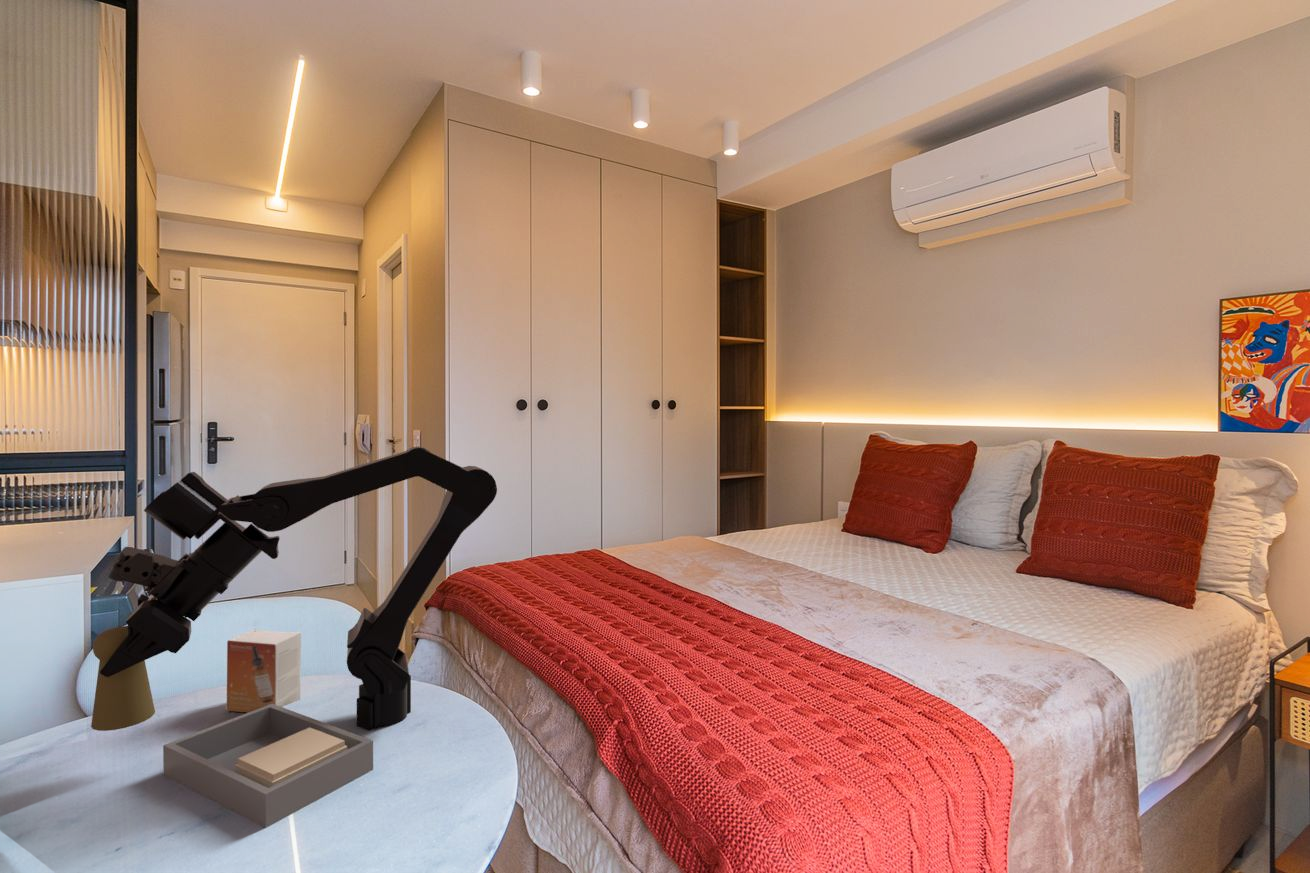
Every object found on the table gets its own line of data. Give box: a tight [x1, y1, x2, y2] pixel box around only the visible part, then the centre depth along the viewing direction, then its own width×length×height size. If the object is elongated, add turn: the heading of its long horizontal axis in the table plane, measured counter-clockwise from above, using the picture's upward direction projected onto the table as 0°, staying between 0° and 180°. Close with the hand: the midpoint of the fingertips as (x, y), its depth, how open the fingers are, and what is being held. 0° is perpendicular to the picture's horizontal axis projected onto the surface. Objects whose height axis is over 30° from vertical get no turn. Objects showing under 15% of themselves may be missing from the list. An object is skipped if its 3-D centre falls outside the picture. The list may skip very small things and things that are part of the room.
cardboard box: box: [235, 727, 347, 788], centre depth 77 cm, size 9×7×4 cm
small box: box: [226, 628, 302, 713], centre depth 99 cm, size 8×6×10 cm
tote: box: [162, 704, 374, 829], centre depth 79 cm, size 13×20×4 cm, turn 61°
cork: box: [90, 625, 156, 732], centre depth 80 cm, size 6×6×11 cm
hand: (107, 667), depth 80 cm, fingers closed on cork, 5 cm apart
